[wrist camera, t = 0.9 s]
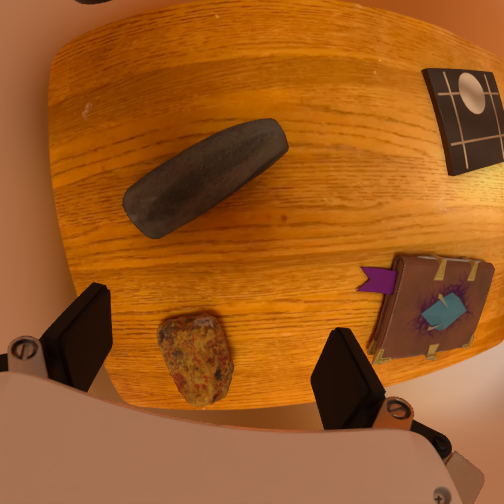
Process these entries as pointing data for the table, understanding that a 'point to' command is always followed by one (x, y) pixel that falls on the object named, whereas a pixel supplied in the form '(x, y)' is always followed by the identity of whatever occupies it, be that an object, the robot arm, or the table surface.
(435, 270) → the book
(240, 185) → the decorative stone
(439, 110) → the board
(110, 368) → the table surface
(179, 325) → the rock
